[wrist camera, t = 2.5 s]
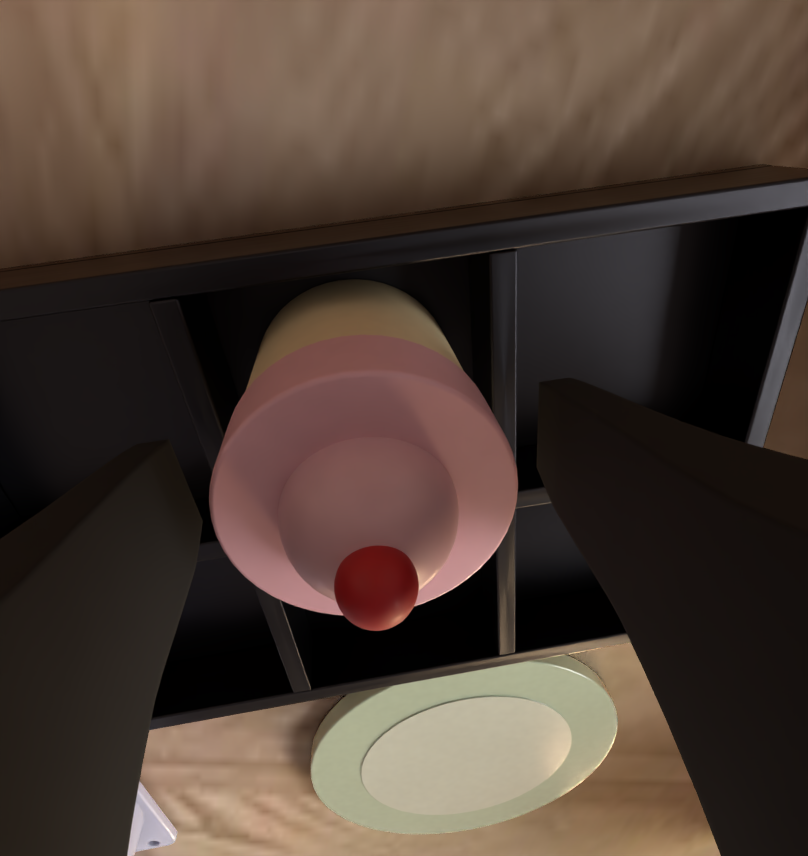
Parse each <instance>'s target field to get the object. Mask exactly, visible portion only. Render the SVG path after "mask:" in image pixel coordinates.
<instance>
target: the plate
mask: <svg viewBox="0 0 808 856" xmlns="http://www.w3.org/2000/svg"><path fill="white" fill-rule="evenodd" d="M617 725H618V718H617V712H616V707H615V705H614V703H613V701H612V698H611V696H610V694H609V692H608V690H607V688H606V686H605V684H604V683H603V682H602V680H601V679H600V678H599V676H598V675H597V674H596V673H595V672H593V671H592V670H591V669H590V668H589V667H588V666H586V665H585V664H583V663H581V662H580V661H578V660H576V659H575V658H573V657H570V656H568V655H560V656H555V657H549V658H544V659H538V660H533V661H527V662H522V663H516V664H511V665H505V666H500V667H494V668H489V669H483V670H478V671H472V672H467V673H461V674H455V675H450V676H444V677H439V678H433V679H428V680H422V681H417V682H411V683H406V684H400V685H395V686H389V687H384V688H378V689H373V690H367V691H362V692H356V693H351V694H347V695H346V696H345V697H344V698H342V699H341V700H340V701H339V702H338V703H337V704H336V705H335V706H334V707H333V708H332V709H331V710H330V712H329V713H328V714H327V715H326V717H325V718H324V720H323V721H322V723H321V724H320V726H319V728H318V730H317V732H316V735H315V737H314V740H313V744H312V748H311V780H312V784H313V788H314V790H315V792H316V794H317V795H318V797H319V799H320V800H321V801H322V802H323V803H324V804H325V806H326V807H327V808H329V809H330V810H331V811H333V812H334V813H335V814H337V815H338V816H340V817H342V818H344V819H346V820H347V821H350V822H352V823H355V824H357V825H360V826H363V827H367V828H370V829H374V830H379V831H385V832H391V833H401V834H441V833H451V832H459V831H465V830H471V829H476V828H481V827H485V826H489V825H493V824H497V823H500V822H503V821H507V820H510V819H513V818H515V817H518V816H521V815H524V814H526V813H528V812H531V811H533V810H536V809H538V808H540V807H542V806H544V805H546V804H548V803H550V802H552V801H554V800H555V799H557V798H559V797H560V796H562V795H564V794H565V793H567V792H569V791H570V790H571V789H573V788H574V787H576V786H577V785H578V784H580V783H581V782H582V781H583V780H584V779H586V778H587V777H588V776H589V775H590V774H591V773H592V772H593V771H594V770H595V769H596V768H597V767H598V766H599V765H600V764H601V762H602V761H603V760H604V758H605V757H606V755H607V754H608V753H609V751H610V749H611V747H612V745H613V743H614V740H615V736H616V733H617Z"/></svg>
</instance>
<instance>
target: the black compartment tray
mask: <svg viewBox="0 0 808 856" xmlns="http://www.w3.org/2000/svg"><path fill="white" fill-rule="evenodd" d="M349 279H360V280H370V281H376V282H381V283H384V284H387V285H390V286H393V287H395V288H397V289H399V290H401V291H403V292H405V293H407V294H408V295H410V296H411V297H413V298H414V299H416V300H417V301H418V302H419V303H420V304H422V305H423V306H424V307H425V308H426V309H427V310H428V311H429V313H430V314H431V315H432V316H433V317H434V319H435V320H436V322H437V323H438V325H439V327H440V328H441V330H442V332H443V334H444V336H445V337H446V339H447V341H448V343H449V345H450V347H451V349H452V350H453V352H454V354H455V356H456V358H457V360H458V362H459V363H460V365H461V367H462V369H463V371H464V372H465V373H466V374H467V375H468V377H469V378H470V379H471V380H472V381H473V382H474V383H475V385H476V386H477V387H478V389H479V391H480V392H481V394H482V395H483V397H484V398H485V400H486V402H487V404H488V406H489V407H490V409H491V411H492V413H493V414H494V416H495V418H496V420H497V422H498V423H499V425H500V427H501V429H502V431H503V432H504V434H505V436H506V438H507V440H508V442H509V445H510V447H511V449H512V452H513V454H514V458H515V463H516V467H517V475H518V493H517V503H516V507H515V511H514V515H513V519H512V521H511V523H510V526H509V528H508V531H507V533H506V535H505V536H504V538H503V540H502V542H501V543H500V545H499V547H498V548H497V549H496V550H495V552H494V553H493V554H492V556H491V557H490V558H489V559H488V560H487V561H486V562H485V564H484V565H483V566H482V567H481V568H480V569H479V570H478V571H476V572H475V573H474V574H473V575H472V576H470V577H469V578H468V579H467V580H465V581H464V582H463V583H461V584H460V585H458V586H457V587H455V588H454V589H452V590H450V591H448V592H446V593H445V594H443V595H441V596H439V597H437V598H435V599H432V600H430V601H428V602H425V603H423V604H420V605H417V606H414V607H413V609H412V611H411V612H410V614H409V615H408V616H407V617H406V618H405V619H404V620H403V621H402V622H401V623H399V624H398V625H396V626H394V627H392V628H389V629H386V630H381V631H371V630H366V629H362V628H360V627H358V626H356V625H354V624H353V623H351V622H350V621H349V620H348V619H347V618H346V617H345V616H344V615H333V614H326V613H319V612H315V611H311V610H307V609H303V608H300V607H297V606H294V605H291V604H289V603H286V602H284V601H282V600H280V599H277V598H275V597H273V596H271V595H270V594H268V593H266V592H265V591H263V590H262V589H260V588H258V587H257V586H256V585H254V584H253V583H252V582H251V581H249V580H248V579H247V578H246V577H245V576H244V575H243V574H242V573H241V572H240V571H239V570H238V569H237V568H236V567H235V566H234V565H233V564H232V562H231V561H230V559H229V558H228V556H227V555H226V554H225V552H224V551H223V549H222V547H221V545H220V543H219V541H218V539H217V536H216V534H215V530H214V527H213V524H212V520H211V515H210V507H209V488H210V482H211V477H212V473H213V468H214V465H215V462H216V459H217V457H218V454H219V451H220V448H221V445H222V442H223V439H224V436H225V433H226V430H227V427H228V425H229V422H230V419H231V417H232V414H233V412H234V409H235V407H236V406H237V404H238V402H239V401H240V399H241V397H242V396H243V394H244V393H245V391H246V388H247V385H248V382H249V379H250V376H251V373H252V370H253V366H254V363H255V360H256V357H257V354H258V351H259V348H260V345H261V342H262V340H263V337H264V335H265V332H266V330H267V329H268V327H269V325H270V323H271V322H272V320H273V319H274V318H275V316H276V315H277V314H278V313H279V311H280V310H281V309H282V308H284V307H285V306H286V305H287V304H288V303H289V302H290V301H291V300H293V299H294V298H296V297H297V296H299V295H300V294H302V293H304V292H305V291H307V290H309V289H311V288H313V287H316V286H319V285H322V284H325V283H328V282H333V281H338V280H349ZM807 301H808V169H805V168H794V167H783V166H772V165H764V164H762V165H754V166H747V167H740V168H733V169H725V170H718V171H711V172H703V173H696V174H689V175H682V176H674V177H667V178H660V179H652V180H645V181H638V182H631V183H623V184H616V185H609V186H601V187H594V188H587V189H580V190H572V191H565V192H558V193H550V194H543V195H536V196H528V197H521V198H514V199H507V200H499V201H492V202H485V203H477V204H470V205H463V206H456V207H448V208H441V209H434V210H426V211H419V212H412V213H405V214H397V215H390V216H383V217H375V218H368V219H361V220H354V221H346V222H339V223H332V224H324V225H317V226H310V227H303V228H295V229H288V230H281V231H273V232H266V233H259V234H252V235H244V236H237V237H230V238H222V239H215V240H208V241H201V242H193V243H186V244H179V245H171V246H164V247H157V248H150V249H142V250H135V251H128V252H120V253H113V254H106V255H99V256H91V257H84V258H77V259H69V260H62V261H55V262H48V263H40V264H33V265H26V266H18V267H11V268H4V269H0V539H1V538H2V537H4V536H5V535H7V534H8V533H10V532H11V531H13V530H14V529H15V528H17V527H18V526H20V525H21V524H23V523H24V522H26V521H27V520H29V519H30V518H31V517H33V516H34V515H36V514H37V513H39V512H40V511H42V510H43V509H44V508H46V507H47V506H49V505H50V504H51V503H53V502H54V501H55V500H57V499H58V498H60V497H61V496H62V495H64V494H65V493H66V492H68V491H69V490H70V489H72V488H73V487H75V486H76V485H77V484H79V483H80V482H81V481H83V480H84V479H85V478H87V477H88V476H90V475H91V474H92V473H94V472H95V471H96V470H98V469H99V468H101V467H102V466H103V465H105V464H106V463H108V462H109V461H110V460H112V459H113V458H115V457H116V456H118V455H119V454H121V453H122V452H124V451H125V450H127V449H129V448H131V447H132V446H134V445H136V444H140V443H147V442H153V441H160V440H166V439H169V440H170V443H171V445H172V447H173V450H174V452H175V455H176V457H177V460H178V462H179V464H180V467H181V469H182V472H183V474H184V477H185V479H186V481H187V484H188V486H189V489H190V491H191V494H192V496H193V498H194V501H195V503H196V506H197V508H198V511H199V513H200V515H201V518H202V520H203V523H202V531H201V538H200V545H199V551H198V557H197V563H196V568H195V571H194V575H193V578H192V581H191V585H190V588H189V591H188V595H187V598H186V601H185V604H184V608H183V611H182V614H181V617H180V620H179V623H178V626H177V630H176V633H175V636H174V639H173V642H172V645H171V649H170V652H169V655H168V658H167V661H166V664H165V667H164V671H163V674H162V677H161V681H160V685H159V688H158V692H157V696H156V700H155V704H154V708H153V713H152V718H151V723H150V728H149V730H152V729H158V728H163V727H169V726H174V725H180V724H185V723H191V722H196V721H202V720H207V719H213V718H218V717H224V716H230V715H235V714H241V713H246V712H252V711H257V710H263V709H268V708H274V707H279V706H285V705H290V704H296V703H301V702H307V701H312V700H318V699H323V698H329V697H334V696H340V695H345V694H351V693H356V692H362V691H367V690H373V689H378V688H384V687H389V686H395V685H400V684H406V683H411V682H417V681H422V680H428V679H433V678H439V677H444V676H450V675H455V674H461V673H467V672H472V671H478V670H483V669H489V668H494V667H500V666H505V665H511V664H516V663H522V662H527V661H533V660H538V659H544V658H549V657H555V656H560V655H566V654H571V653H577V652H582V651H588V650H593V649H599V648H604V647H610V646H615V645H621V644H626V643H631V641H630V639H629V637H628V635H627V633H626V631H625V629H624V627H623V624H622V622H621V620H620V618H619V617H618V615H617V613H616V611H615V609H614V607H613V606H612V604H611V602H610V600H609V598H608V597H607V595H606V593H605V592H604V590H603V588H602V587H601V585H600V584H599V582H598V580H597V579H596V577H595V575H594V574H593V572H592V570H591V569H590V567H589V566H588V564H587V562H586V561H585V559H584V557H583V556H582V554H581V552H580V551H579V549H578V548H577V546H576V544H575V543H574V541H573V539H572V538H571V536H570V534H569V533H568V531H567V529H566V528H565V526H564V524H563V523H562V521H561V519H560V518H559V516H558V514H557V512H556V511H555V509H554V507H553V505H552V503H551V500H550V498H549V496H548V494H547V491H546V489H545V487H544V484H543V482H542V479H541V477H540V474H539V472H538V469H537V435H538V402H539V382H543V381H549V380H556V379H562V378H569V377H570V378H574V379H577V380H580V381H583V382H586V383H588V384H591V385H593V386H596V387H599V388H601V389H603V390H606V391H608V392H611V393H613V394H615V395H618V396H620V397H623V398H625V399H627V400H630V401H632V402H634V403H637V404H639V405H642V406H644V407H647V408H649V409H651V410H654V411H656V412H659V413H661V414H664V415H667V416H669V417H672V418H674V419H677V420H680V421H682V422H685V423H688V424H691V425H693V426H696V427H699V428H702V429H705V430H707V431H710V432H713V433H716V434H719V435H722V436H725V437H728V438H731V439H734V440H738V441H741V442H744V443H748V444H751V445H755V446H759V447H762V448H763V447H764V443H765V440H766V437H767V434H768V430H769V427H770V424H771V420H772V417H773V414H774V410H775V407H776V404H777V400H778V397H779V394H780V391H781V387H782V384H783V381H784V377H785V374H786V371H787V367H788V364H789V361H790V357H791V354H792V351H793V348H794V344H795V341H796V338H797V334H798V331H799V328H800V324H801V321H802V318H803V314H804V311H805V308H806V304H807Z"/></svg>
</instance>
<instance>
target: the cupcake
mask: <svg viewBox="0 0 808 856" xmlns="http://www.w3.org/2000/svg"><path fill="white" fill-rule="evenodd" d="M517 493H518V475H517V467H516V463H515V458H514V454H513V452H512V449H511V447H510V445H509V442H508V440H507V438H506V436H505V434H504V432H503V431H502V429H501V427H500V425H499V423H498V422H497V420H496V418H495V416H494V414H493V413H492V411H491V409H490V407H489V406H488V404H487V402H486V400H485V398H484V397H483V395H482V394H481V392H480V391H479V389H478V387H477V386H476V385H475V383H474V382H473V381H472V380H471V379H470V378H469V377H468V375H467V374H466V373H465V372H464V371H463V369H462V367H461V365H460V363H459V362H458V360H457V358H456V356H455V354H454V352H453V350H452V349H451V347H450V345H449V343H448V341H447V339H446V337H445V336H444V334H443V332H442V330H441V328H440V327H439V325H438V323H437V322H436V320H435V319H434V317H433V316H432V315H431V314H430V313H429V311H428V310H427V309H426V308H425V307H424V306H423V305H422V304H420V303H419V302H418V301H417V300H416V299H414V298H413V297H411V296H410V295H408V294H407V293H405V292H403V291H401V290H399V289H397V288H395V287H393V286H390V285H387V284H384V283H381V282H376V281H370V280H360V279H349V280H338V281H333V282H328V283H325V284H322V285H319V286H316V287H313V288H311V289H309V290H307V291H305V292H304V293H302V294H300V295H299V296H297V297H296V298H294V299H293V300H291V301H290V302H289V303H288V304H287V305H286V306H285V307H284V308H282V309H281V310H280V311H279V313H278V314H277V315H276V316H275V318H274V319H273V320H272V322H271V323H270V325H269V327H268V329H267V330H266V332H265V335H264V337H263V340H262V342H261V345H260V348H259V351H258V354H257V357H256V360H255V363H254V366H253V370H252V373H251V376H250V379H249V382H248V385H247V388H246V391H245V393H244V394H243V396H242V397H241V399H240V401H239V402H238V404H237V406H236V407H235V409H234V412H233V414H232V417H231V419H230V422H229V425H228V427H227V430H226V433H225V436H224V439H223V442H222V445H221V448H220V451H219V454H218V457H217V459H216V462H215V465H214V468H213V473H212V477H211V482H210V488H209V507H210V515H211V520H212V524H213V527H214V530H215V534H216V536H217V539H218V541H219V543H220V545H221V547H222V549H223V551H224V552H225V554H226V555H227V556H228V558H229V559H230V561H231V562H232V564H233V565H234V566H235V567H236V568H237V569H238V570H239V571H240V572H241V573H242V574H243V575H244V576H245V577H246V578H247V579H248V580H249V581H251V582H252V583H253V584H254V585H256V586H257V587H258V588H260V589H262V590H263V591H265V592H266V593H268V594H270V595H271V596H273V597H275V598H277V599H280V600H282V601H284V602H286V603H289V604H291V605H294V606H297V607H300V608H303V609H307V610H311V611H315V612H319V613H326V614H333V615H344V616H345V617H346V618H347V619H348V620H349V621H350V622H351V623H353V624H354V625H356V626H358V627H360V628H362V629H366V630H371V631H381V630H386V629H389V628H392V627H394V626H396V625H398V624H399V623H401V622H402V621H403V620H404V619H405V618H406V617H407V616H408V615H409V614H410V612H411V611H412V609H413V607H414V606H417V605H420V604H423V603H425V602H428V601H430V600H432V599H435V598H437V597H439V596H441V595H443V594H445V593H446V592H448V591H450V590H452V589H454V588H455V587H457V586H458V585H460V584H461V583H463V582H464V581H465V580H467V579H468V578H469V577H470V576H472V575H473V574H474V573H475V572H476V571H478V570H479V569H480V568H481V567H482V566H483V565H484V564H485V562H486V561H487V560H488V559H489V558H490V557H491V556H492V554H493V553H494V552H495V550H496V549H497V548H498V547H499V545H500V543H501V542H502V540H503V538H504V536H505V535H506V533H507V531H508V528H509V526H510V523H511V521H512V519H513V515H514V511H515V507H516V503H517Z"/></svg>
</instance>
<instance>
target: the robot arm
mask: <svg viewBox="0 0 808 856" xmlns="http://www.w3.org/2000/svg"><path fill="white" fill-rule="evenodd" d="M537 469H538V472H539V474H540V477H541V479H542V482H543V484H544V487H545V489H546V491H547V494H548V496H549V498H550V500H551V503H552V505H553V507H554V509H555V511H556V512H557V514H558V516H559V518H560V519H561V521H562V523H563V524H564V526H565V528H566V529H567V531H568V533H569V534H570V536H571V538H572V539H573V541H574V543H575V544H576V546H577V548H578V549H579V551H580V552H581V554H582V556H583V557H584V559H585V561H586V562H587V564H588V566H589V567H590V569H591V570H592V572H593V574H594V575H595V577H596V579H597V580H598V582H599V584H600V585H601V587H602V588H603V590H604V592H605V593H606V595H607V597H608V598H609V600H610V602H611V604H612V606H613V607H614V609H615V611H616V613H617V615H618V617H619V618H620V620H621V622H622V624H623V627H624V629H625V631H626V633H627V635H628V637H629V639H630V641H631V644H632V646H633V648H634V650H635V652H636V654H637V656H638V658H639V660H640V663H641V665H642V667H643V669H644V671H645V673H646V676H647V678H648V680H649V682H650V685H651V687H652V689H653V691H654V694H655V696H656V698H657V700H658V703H659V705H660V707H661V709H662V712H663V714H664V716H665V718H666V721H667V723H668V725H669V728H670V730H671V732H672V735H673V737H674V740H675V742H676V744H677V747H678V749H679V752H680V754H681V756H682V759H683V761H684V764H685V766H686V768H687V771H688V773H689V776H690V778H691V780H692V783H693V785H694V788H695V790H696V792H697V795H698V797H699V800H700V803H701V805H702V808H703V810H704V813H705V815H706V818H707V821H708V823H709V826H710V828H711V831H712V834H713V836H714V839H715V841H716V844H717V846H718V849H719V852H720V854H721V856H808V460H807V459H803V458H799V457H795V456H791V455H787V454H783V453H780V452H776V451H773V450H769V449H766V448H762V447H759V446H755V445H751V444H748V443H744V442H741V441H738V440H734V439H731V438H728V437H725V436H722V435H719V434H716V433H713V432H710V431H707V430H705V429H702V428H699V427H696V426H693V425H691V424H688V423H685V422H682V421H680V420H677V419H674V418H672V417H669V416H667V415H664V414H661V413H659V412H656V411H654V410H651V409H649V408H647V407H644V406H642V405H639V404H637V403H634V402H632V401H630V400H627V399H625V398H623V397H620V396H618V395H615V394H613V393H611V392H608V391H606V390H603V389H601V388H599V387H596V386H593V385H591V384H588V383H586V382H583V381H580V380H577V379H574V378H570V377H569V378H562V379H556V380H549V381H543V382H539V402H538V435H537ZM202 523H203V520H202V518H201V515H200V513H199V511H198V508H197V506H196V503H195V501H194V498H193V496H192V494H191V491H190V489H189V486H188V484H187V481H186V479H185V477H184V474H183V472H182V469H181V467H180V464H179V462H178V460H177V457H176V455H175V452H174V450H173V447H172V445H171V443H170V440H169V439H166V440H160V441H153V442H147V443H140V444H136V445H134V446H132V447H131V448H129V449H127V450H125V451H124V452H122V453H121V454H119V455H118V456H116V457H115V458H113V459H112V460H110V461H109V462H108V463H106V464H105V465H103V466H102V467H101V468H99V469H98V470H96V471H95V472H94V473H92V474H91V475H90V476H88V477H87V478H85V479H84V480H83V481H81V482H80V483H79V484H77V485H76V486H75V487H73V488H72V489H70V490H69V491H68V492H66V493H65V494H64V495H62V496H61V497H60V498H58V499H57V500H55V501H54V502H53V503H51V504H50V505H49V506H47V507H46V508H44V509H43V510H42V511H40V512H39V513H37V514H36V515H34V516H33V517H31V518H30V519H29V520H27V521H26V522H24V523H23V524H21V525H20V526H18V527H17V528H15V529H14V530H13V531H11V532H10V533H8V534H7V535H5V536H4V537H2V538H1V539H0V856H134V855H135V852H136V851H142V850H147V849H152V848H157V847H162V846H168V845H171V844H173V843H174V842H175V840H176V837H177V830H176V829H175V827H174V826H173V825H172V823H171V822H170V821H169V819H168V818H167V817H166V815H165V814H164V813H163V811H162V810H161V809H160V807H159V806H158V805H157V803H156V802H155V801H154V799H153V798H152V797H151V795H150V794H149V793H148V791H147V790H146V789H145V787H144V786H143V785H142V783H141V782H140V781H139V780H140V775H141V769H142V763H143V758H144V753H145V748H146V743H147V738H148V733H149V728H150V723H151V718H152V713H153V708H154V704H155V700H156V696H157V692H158V688H159V685H160V681H161V677H162V674H163V671H164V667H165V664H166V661H167V658H168V655H169V652H170V649H171V645H172V642H173V639H174V636H175V633H176V630H177V626H178V623H179V620H180V617H181V614H182V611H183V608H184V604H185V601H186V598H187V595H188V591H189V588H190V585H191V581H192V578H193V575H194V571H195V568H196V563H197V557H198V551H199V545H200V538H201V531H202Z"/></svg>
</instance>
